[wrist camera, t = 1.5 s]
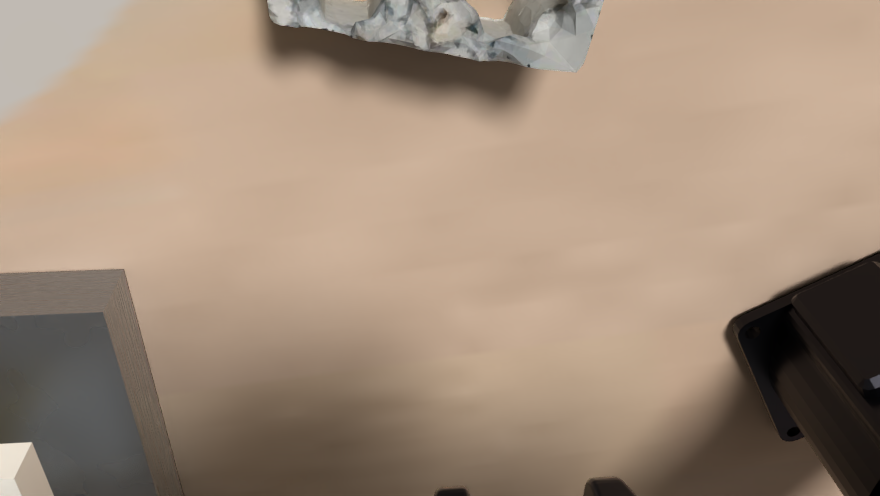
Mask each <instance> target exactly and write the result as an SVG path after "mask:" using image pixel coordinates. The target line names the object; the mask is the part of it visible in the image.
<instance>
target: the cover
mask: <svg viewBox="0 0 880 496" xmlns="http://www.w3.org/2000/svg"><path fill="white" fill-rule="evenodd" d="M0 496H54V495H53V492H52V490H51V488H50V485H49V483H48V480H47V478H46V475H45V473H44V471H43V468H42V466H41V463H40V461H39V458H38V456H37V453H36V451H35V449H34V446H33V444H32V442H26V443H8V444H0Z"/></svg>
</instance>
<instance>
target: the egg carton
mask: <svg viewBox="0 0 880 496" xmlns="http://www.w3.org/2000/svg"><path fill="white" fill-rule="evenodd" d="M267 2H268V9H269V16H270V18H271V20H272V22H274V23H276V24H278V25H281V26H289V27H295V28H298V27H312V28H318V29H323V30H329V31H334V32H338V33H342V34H346V35H348V36H350V37H352V38H355V39H359V40H364V41H370V42H385V43H392V44H397V45H402V46H407V47H411V48H415V49H419V50H423V51H430V52H438V53H445V54H449V55H454V56H458V57H463V58H468V59H473V60H476V61H503V62H509V63H513V64H517V65H521V66H525V67H530V68H535V69H542V70H554V71H566V72H577V71H578V70H579V69H580V68H581V66H582V65H583V64H584V61H585V58H586V55H587V52H588V49H589V46H590V42H591V39H592V36H593V33H594V30H595V27H596V24H597V20H598V17H599V14H600V11H601V8H602V5H603V2H604V0H513V2H512V3H511V5H510V6H509V8H508V10H507V12H506V14H505V16H504V18H503V19H495V20H494V19H491V18H487V17H479V15H478V13H477V11H476V10H475V9H474V8H473V7H472V6H471V5H469V4H468V3H467V2H466V0H366V1H363V2H362V1H354V0H267Z"/></svg>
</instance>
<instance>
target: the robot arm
mask: <svg viewBox="0 0 880 496" xmlns="http://www.w3.org/2000/svg"><path fill="white" fill-rule="evenodd" d="M751 327H753V328H752V329H751V330H748V329H749V328H751ZM747 330H748V331H747ZM733 332H734V334H735V337H736V339H737V341H738V344H739V346H740V348H741V351H742V353H743V355H744V358H745V360H746V362H747V365H748V367H749V369H750V372H751V374H752V376H753V379H754V381H755V383H756V386H757V388H758V390H759V392H760V395H761V397H762V399H763V402H764V404H765V406H766V409H767V411H768V413H769V416H770V418H771V420H772V423H773V425H774V427H775V429H776V431H777V433H778V434H779V436H780V437H781V439H782V440H784V441H794V440H798V439H800V438H803V437H805V438H806V440H807V441H808V443H809V444H810V446H811V447H812V449H813V450H814V452H815V453H816V455H817V456H818V458H819V459H820V461H821V462H822V464H823V465H824V467H825V468H826V470H827V471H828V473H829V474H830V476H831V477H832V479H833V480H834V482H835V483H836V485H837V486H838V488H839V489H840V491H841V492H842V494H843V495H844V496H880V253H879V254H877V255H874V256H872V257H870V258H868V259H866V260H863V261H861V262H859V263H857V264H855V265H852V266H850V267H848V268H846V269H844V270H841V271H839V272H837V273H835V274H833V275H830V276H828V277H826V278H824V279H821V280H819V281H817V282H815V283H813V284H810V285H808V286H806V287H804V288H802V289H799V290H797V291H795V292H793V293H791V294H788V295H786V296H784V297H782V298H780V299H777V300H775V301H773V302H771V303H769V304H766V305H764V306H762V307H760V308H757V309H755V310H753V311H751V312H749V313H746V314H744V315H742V316H741V317H739V318H738V319H737V320H736V321H735V322H734V325H733ZM434 496H470V494H469V491H468V489H467V488H466V487H464V486H455V487H441V488H438V489H437V490H436V492H435V494H434ZM583 496H636V495H635V493H634V492H633V491H632V490H631V489H630V488H629V487H628V486H627V485H626V484H625V483H624V482H623V481H622V480H621V479H619V478H617V477H598V478H590V479H589V480H588V481H587V482H586V485H585V489H584V495H583Z"/></svg>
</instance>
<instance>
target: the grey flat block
mask: <svg viewBox="0 0 880 496" xmlns="http://www.w3.org/2000/svg"><path fill="white" fill-rule="evenodd" d="M26 442H32V444H33V446H34V449H35V451H36V453H37V456H38V458H39V461H40V463H41V466H42V468H43V471H44V473H45V475H46V478H47V480H48V483H49V485H50V488H51V490H52V492H53V495H54V496H184V495H183V492H182V488H181V484H180V480H179V477H178V473H177V469H176V465H175V461H174V458H173V454H172V450H171V446H170V443H169V439H168V435H167V431H166V427H165V424H164V420H163V416H162V412H161V409H160V405H159V401H158V397H157V393H156V390H155V386H154V382H153V378H152V375H151V371H150V367H149V363H148V360H147V356H146V352H145V348H144V344H143V341H142V337H141V333H140V329H139V326H138V322H137V318H136V314H135V310H134V307H133V303H132V299H131V295H130V292H129V288H128V284H127V280H126V276H125V273H124V269H116V270H88V271H61V272H33V273H6V274H0V444H8V443H26Z"/></svg>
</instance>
